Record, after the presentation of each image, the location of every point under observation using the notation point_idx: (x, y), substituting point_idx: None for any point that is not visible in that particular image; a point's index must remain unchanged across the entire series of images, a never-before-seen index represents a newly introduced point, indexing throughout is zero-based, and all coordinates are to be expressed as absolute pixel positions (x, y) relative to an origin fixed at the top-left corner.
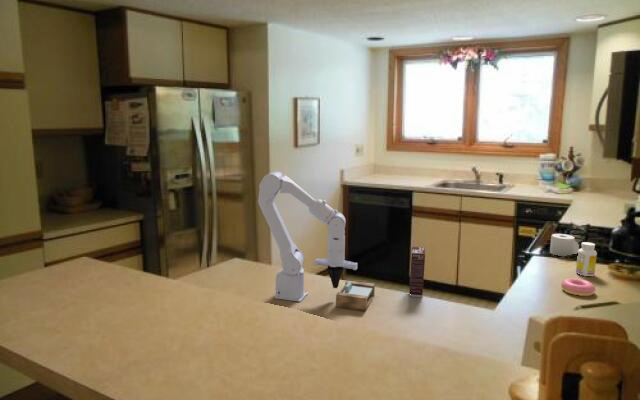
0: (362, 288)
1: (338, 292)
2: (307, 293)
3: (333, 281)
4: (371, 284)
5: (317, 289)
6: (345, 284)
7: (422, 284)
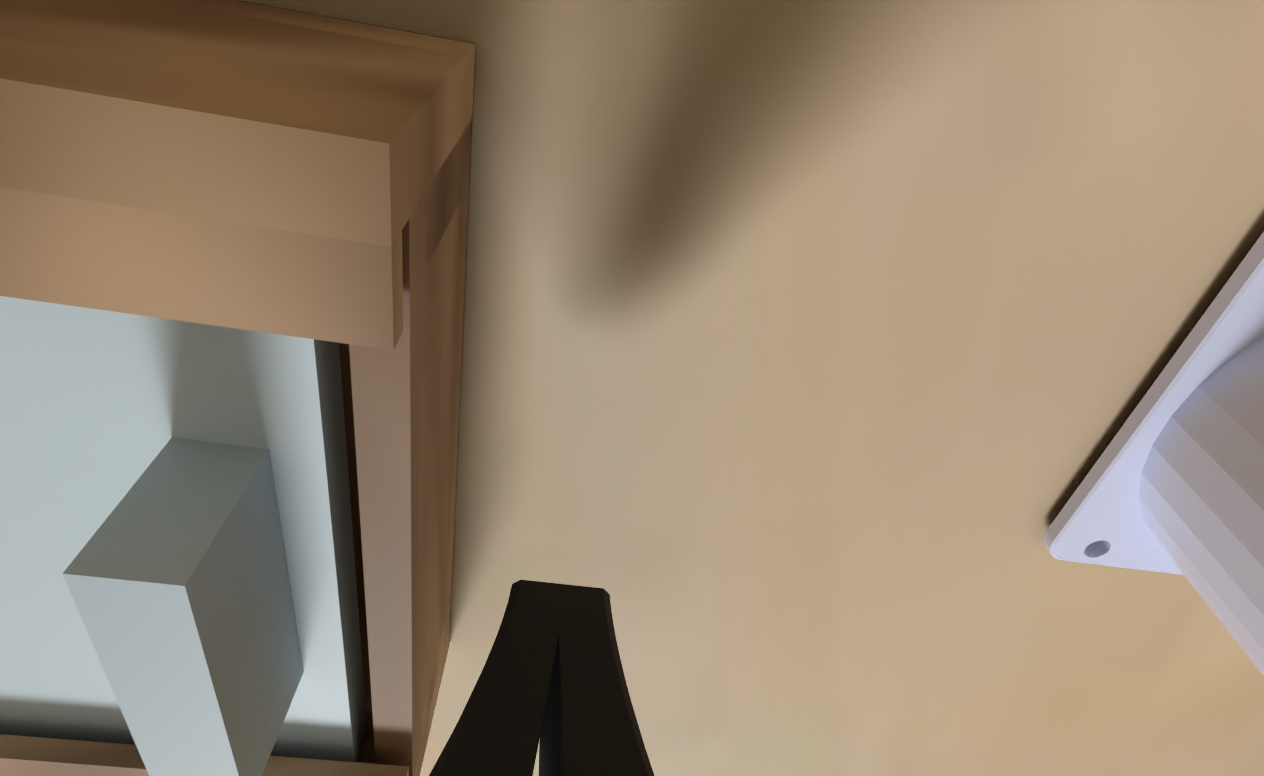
0: (10, 661)
1: (371, 330)
2: (1055, 530)
3: (583, 741)
4: None
5: (868, 666)
6: (408, 746)
7: None
